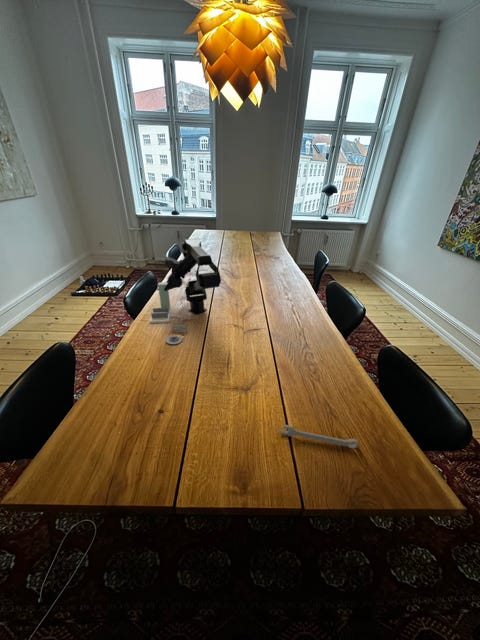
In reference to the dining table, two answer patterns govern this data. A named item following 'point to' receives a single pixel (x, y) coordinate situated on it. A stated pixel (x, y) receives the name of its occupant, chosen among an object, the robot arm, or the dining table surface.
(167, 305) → the cabinet door
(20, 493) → the dining table surface
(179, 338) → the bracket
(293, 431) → the combination wrench
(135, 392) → the dining table surface
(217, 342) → the dining table surface
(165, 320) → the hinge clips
